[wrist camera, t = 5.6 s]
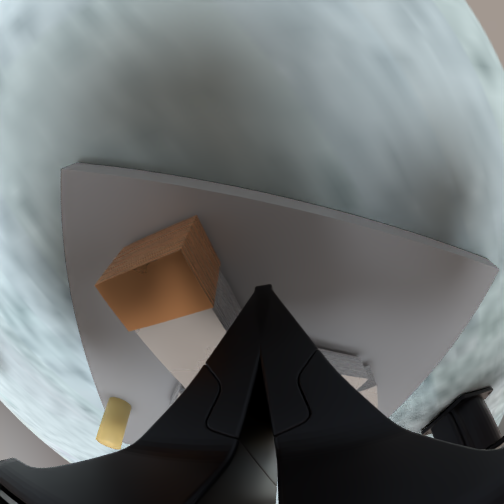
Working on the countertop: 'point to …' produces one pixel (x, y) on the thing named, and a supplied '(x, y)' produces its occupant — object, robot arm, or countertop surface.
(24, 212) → the countertop surface
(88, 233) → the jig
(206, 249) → the white handled ring
